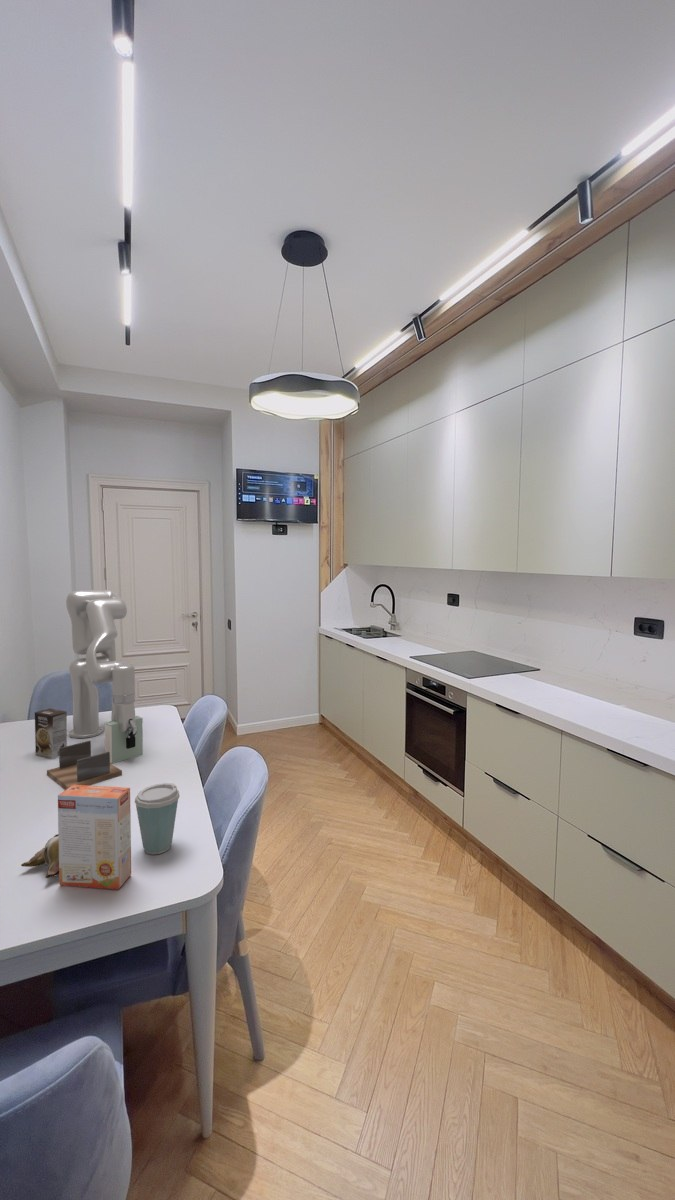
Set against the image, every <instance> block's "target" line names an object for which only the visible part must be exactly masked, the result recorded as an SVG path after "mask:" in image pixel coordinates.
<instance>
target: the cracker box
mask: <svg viewBox="0 0 675 1200" xmlns="http://www.w3.org/2000/svg"><path fill="white" fill-rule="evenodd" d="M131 813H132V811H131V787H123V786H108V785H107V786H106V785H105V786H104V785H103V786H102V785H72V786H71V787H69V788H68V789H66V790H65V789H64V791H62V792H60V793H58V795H57V828H58V831H57V832H58V835H59V875H58V878H59V885H60V886H67V887H80V888H81V887H82V888H93V889H103V890H104V889H106V890H120V888H121V887H122V886H123V885H124V884H125V882H127V880H128V879H129V878H130V877H131V876H132V835H131V834H132V830H131V829H132V828H131V826H132V825H131V823H132V821H131V820H132V819H131V817H132V815H131Z"/></svg>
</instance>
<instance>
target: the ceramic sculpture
mask: <svg viewBox="0 0 675 1200" xmlns="http://www.w3.org/2000/svg"><path fill="white" fill-rule="evenodd" d="M44 864H46V865H47V866H48V869H47V874H46V875H45V877H44V878H45V879H48V878H53V877H56V876H59V835H58V834H55V835H53V837H51V838H49V840H47V842H46V843H45V846H44V847H43V848H42V849H40V850H39V851H37V852H36V853H35V854H34V855H33V856H32V857H30V859H28V861H25V862H22V863H21V864H20V866H21V867H25V868H26V867H27V868H28V867H31V868H34V867H39V866H41V865H44Z"/></svg>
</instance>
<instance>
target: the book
mask: <svg viewBox="0 0 675 1200" xmlns="http://www.w3.org/2000/svg"><path fill="white" fill-rule="evenodd" d="M135 718H136V726H137V733H136V736H135V747H133V748H129V749H127V748H126V738H127V735H126V732H125V731H124V732H120V731H119V723H118V722H115V721H111V720H110V721H107V722H105V723H104V753H105V752H110V764H112V765H113V764H116V763H118V762H122V761H125V760H128V759H132V758H136V757H139V756H143V755H144V754H143V750H144V747H143V746H144V745H143V743H144V742H143V741H144V738H143V737H144V736H143V732H144V731H143V717H141V716H139V715H135ZM128 729H130V728H128ZM130 732H131V731H129V734H130Z"/></svg>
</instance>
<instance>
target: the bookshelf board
mask: <svg viewBox="0 0 675 1200" xmlns="http://www.w3.org/2000/svg"><path fill="white" fill-rule="evenodd" d="M58 758H59V759H58V760H59V765H58V767H55V768H50V769H47V770H46V775H47V776H48V777H49V778H50V779H51V780H53V781H55V783H57V784H58V785H59V786H60V787H62V788H63V789H64V791H65V790H66V789H68V788H69V787H71V786H72V785H89V786H92V785H95V784H98V783H101V782H104V781H107V780H111V779H113V778H117V777H121V776H123V770H121V769H120V768H118V767H117V766H115V765H113V763H112V764H110V752H105V751H104V752H103V753H102V752H101V753H99V754H94V755H92V741H91V740H87V741H82V742H79V743H75V744H70V745H67V746H66V747H61V748H59V757H58Z"/></svg>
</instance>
